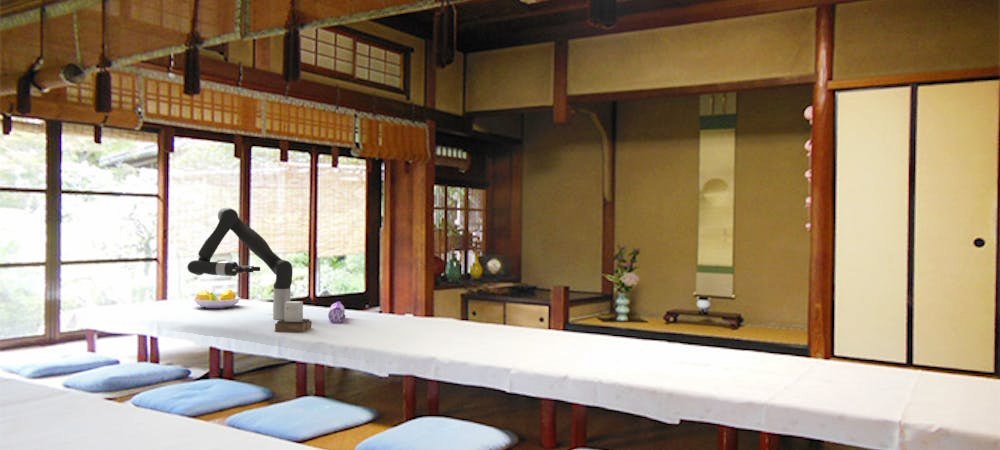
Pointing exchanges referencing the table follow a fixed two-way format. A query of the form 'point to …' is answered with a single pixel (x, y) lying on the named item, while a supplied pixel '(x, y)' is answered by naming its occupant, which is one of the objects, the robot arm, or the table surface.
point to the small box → (293, 311)
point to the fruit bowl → (216, 299)
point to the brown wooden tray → (292, 326)
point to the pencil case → (336, 313)
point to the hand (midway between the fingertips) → (256, 269)
